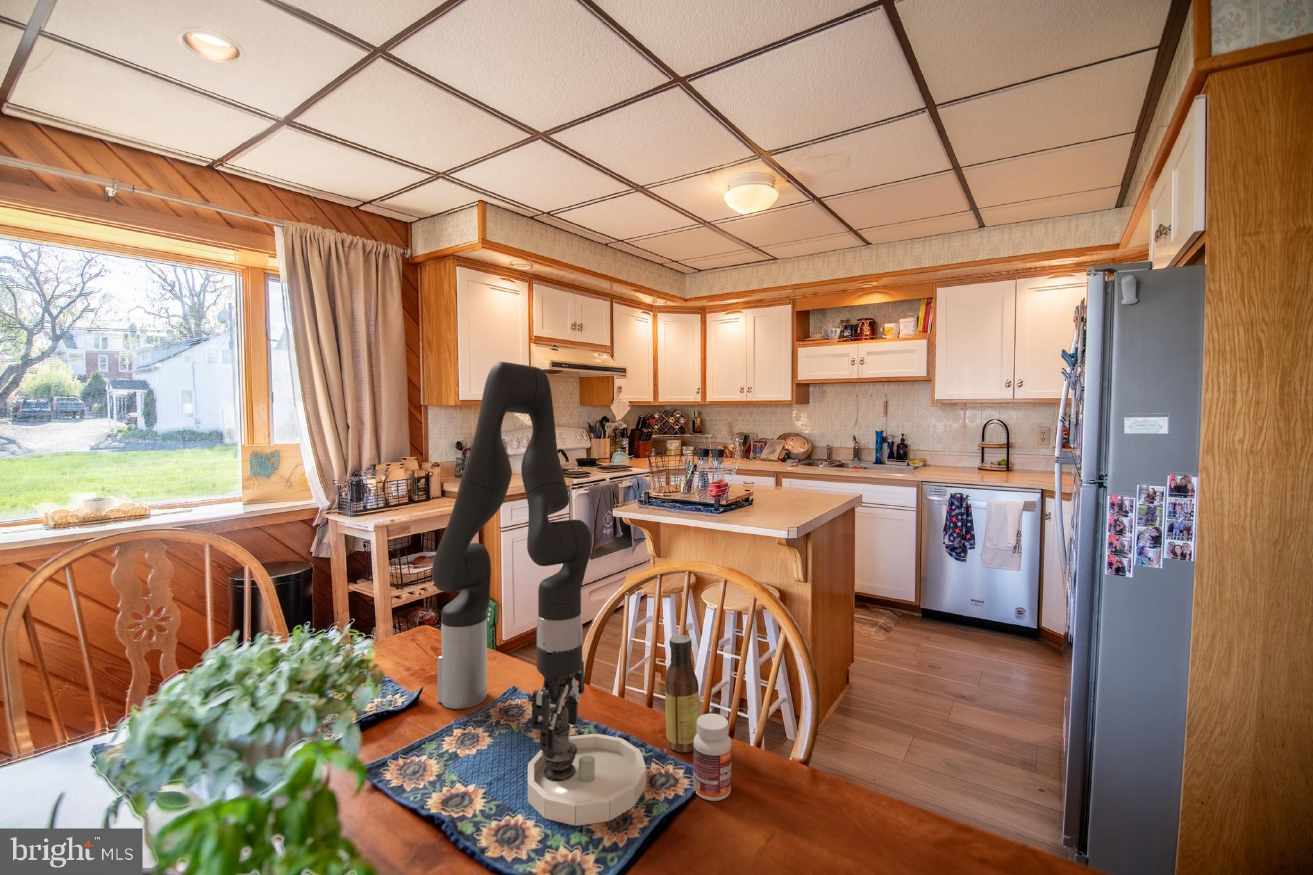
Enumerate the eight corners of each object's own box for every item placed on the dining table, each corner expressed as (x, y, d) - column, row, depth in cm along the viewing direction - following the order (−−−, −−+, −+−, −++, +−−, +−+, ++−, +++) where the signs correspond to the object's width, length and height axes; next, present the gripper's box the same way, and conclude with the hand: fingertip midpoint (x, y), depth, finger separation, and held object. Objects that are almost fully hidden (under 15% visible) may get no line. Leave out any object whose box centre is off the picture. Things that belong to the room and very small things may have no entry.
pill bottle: (727, 805, 89) (727, 734, 89) (689, 797, 91) (689, 727, 90) (734, 782, 95) (734, 715, 95) (697, 775, 97) (698, 709, 96)
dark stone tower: (580, 762, 98) (581, 693, 98) (572, 783, 92) (572, 710, 92) (547, 760, 99) (547, 691, 99) (537, 781, 93) (537, 708, 93)
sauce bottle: (704, 740, 107) (705, 635, 107) (692, 758, 102) (693, 647, 101) (672, 732, 110) (673, 630, 109) (659, 749, 104) (659, 641, 104)
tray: (504, 808, 88) (504, 783, 88) (561, 742, 106) (561, 721, 106) (619, 836, 82) (619, 809, 82) (658, 762, 100) (659, 739, 100)
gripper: (559, 623, 103) (559, 712, 103) (517, 653, 89) (517, 755, 90) (597, 628, 101) (597, 718, 101) (560, 660, 87) (559, 764, 88)
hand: (559, 736), depth 95 cm, fingers open, 8 cm apart
